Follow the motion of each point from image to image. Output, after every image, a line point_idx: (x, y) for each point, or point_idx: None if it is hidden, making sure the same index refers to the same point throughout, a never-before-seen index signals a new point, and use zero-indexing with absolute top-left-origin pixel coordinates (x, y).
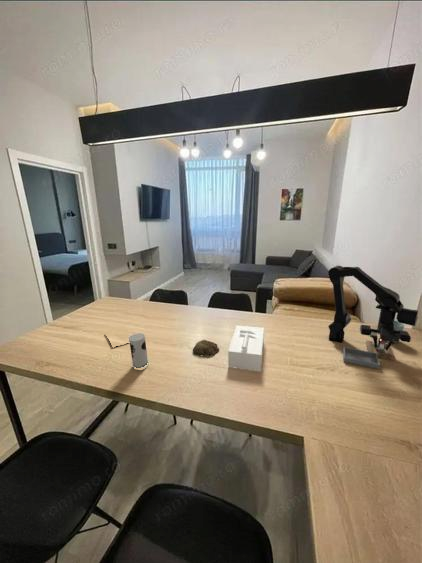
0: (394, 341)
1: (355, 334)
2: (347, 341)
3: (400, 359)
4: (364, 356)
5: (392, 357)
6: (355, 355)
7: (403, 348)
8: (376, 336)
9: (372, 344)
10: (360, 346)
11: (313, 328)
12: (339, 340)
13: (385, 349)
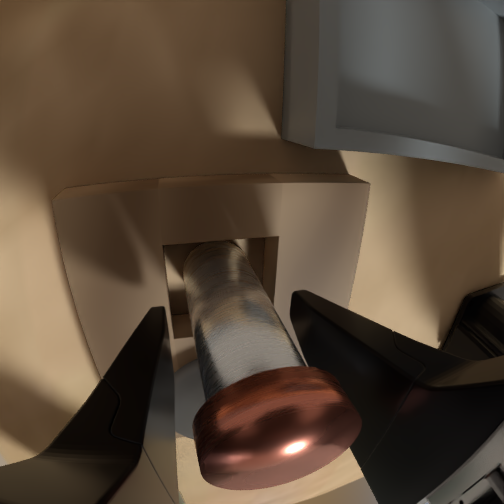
0: (6, 481)
1: None
2: (428, 334)
3: (13, 244)
4: (406, 104)
5: (81, 195)
6: (462, 106)
7: (42, 428)
8: (501, 426)
9: None
10: (371, 316)
11: None
12: (475, 306)
13: None
